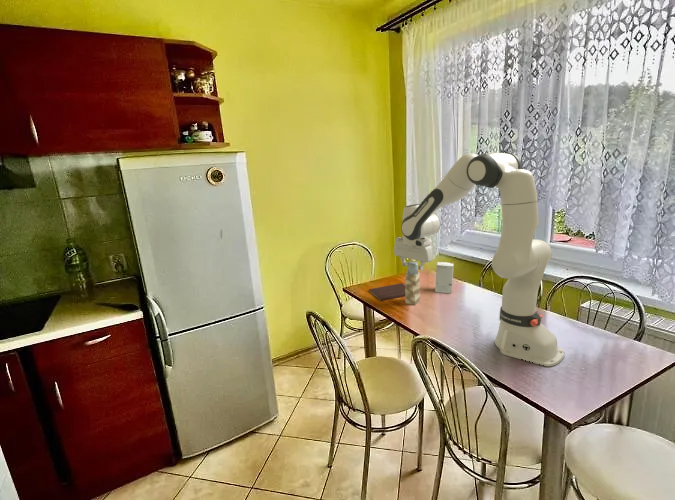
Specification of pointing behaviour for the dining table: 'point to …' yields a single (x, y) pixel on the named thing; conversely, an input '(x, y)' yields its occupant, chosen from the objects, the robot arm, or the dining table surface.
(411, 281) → the tower top
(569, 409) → the dining table surface
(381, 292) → the notebook
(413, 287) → the tower mid
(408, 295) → the tower base
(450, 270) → the skincare box
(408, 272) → the blue-grey rounded cube
